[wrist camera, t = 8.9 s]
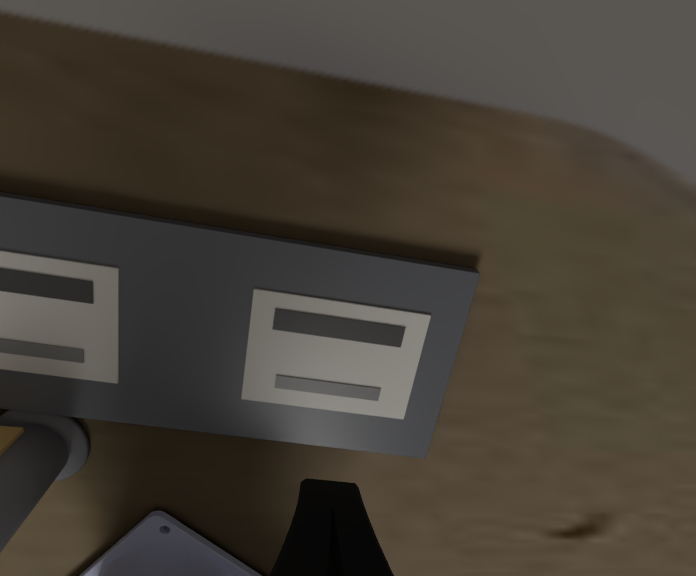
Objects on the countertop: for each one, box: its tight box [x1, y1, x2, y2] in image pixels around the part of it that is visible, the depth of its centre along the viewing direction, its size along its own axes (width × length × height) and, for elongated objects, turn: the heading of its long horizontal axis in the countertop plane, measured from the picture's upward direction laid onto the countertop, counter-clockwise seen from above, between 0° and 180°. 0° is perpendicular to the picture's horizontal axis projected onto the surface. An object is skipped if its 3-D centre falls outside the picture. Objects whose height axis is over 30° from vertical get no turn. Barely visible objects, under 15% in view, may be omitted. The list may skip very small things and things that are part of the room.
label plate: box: [0, 192, 480, 481], centre depth 19 cm, size 22×13×1 cm, turn 80°
